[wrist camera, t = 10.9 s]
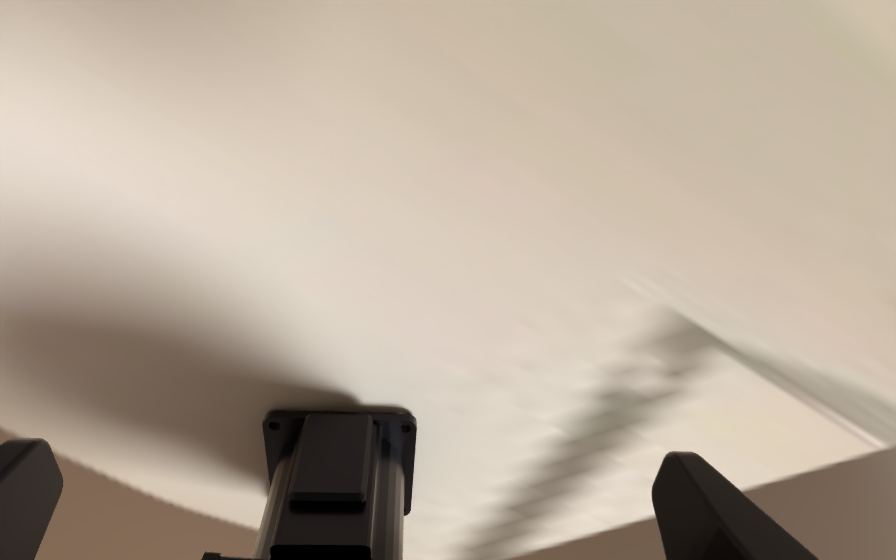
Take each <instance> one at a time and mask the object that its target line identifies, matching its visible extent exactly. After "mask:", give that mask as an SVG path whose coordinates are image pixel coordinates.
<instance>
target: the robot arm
mask: <svg viewBox="0 0 896 560" xmlns="http://www.w3.org/2000/svg"><path fill="white" fill-rule="evenodd" d="M274 422H278V423H274ZM402 425H408V426H402ZM416 431H417V422H416V419H415V417H414V416H412V415H410V414H398V413H358V412H318V411H278V410H275V411H270V412H268V413H267V414H266V415H265V418H264V421H263V433H264V440H265V448H266V456H267V464H268V472H269V479H270V487H271V488H270V492H269V496H268V499H267V503H266V507H265V510H264V514H263V518H262V522H261V525H260V529H259V533H258V537H257V540H256V544H255V548H254V551H253V556H252V558H242V557H229V556H222V554H221V553H217V552H205V553H204V555H203V557H202V560H403V523H404V516H405V515H408V514H409V513H410V511H411V499H412V485H413V472H414V458H415V445H416ZM62 487H63V477H62V474H61V472H60V469H59V467H58V464H57V462H56V460H55V457H54V455H53V452H52V450H51V447H50V445H49V443H48V442H47V441H45V440H44V439H41V438H13V439H10V440H7V441H6V442H3V443H2V444H0V560H34V558H35V556H36V554H37V551H38V549H39V546H40V544H41V541H42V539H43V536H44V534H45V531H46V529H47V527H48V524H49V522H50V520H51V517H52V515H53V512H54V510H55V507H56V505H57V503H58V500H59V498H60V495H61V492H62ZM652 502H653V506H654V511H655V515H656V519H657V523H658V527H659V531H660V535H661V540H662V544H663V548H664V552H665V556H666V560H820V559H819V558H818V557H817V556H815V555H814V554H813V553H812V552H811V551H810V550H809V549H807V548H806V547H805V546H804V545H803V544H802V543H800V542H799V541H798V540H797V539H796V538H795V537H793V536H792V535H791V534H790V533H789V532H788V531H786V530H785V529H784V528H783V527H782V526H781V525H780V524H778V523H777V522H776V521H775V520H774V519H773V518H771V517H770V516H769V515H768V514H767V513H765V511H763V510H762V509H761V508H760V507H759V506H757V505H756V504H755V503H754V502H753V501H752V500H750V499H749V498H748V497H747V496H746V495H745V494H744V493H743V492H741V491H740V490H739V489H738V488H737V487H736V486H734V485H733V484H732V483H731V482H730V481H729V480H727V479H726V478H725V477H724V476H723V475H722V474H720V473H719V472H718V471H717V470H716V469H715V468H714V467H712V466H711V465H710V464H709V463H708V462H707V461H705V460H704V459H703V458H702V457H701V456H699V455H698V454H696V453H694V452H677V451H672V452H669V453H668V454H666V455H665V457H664V459H663V462H662V464H661V466H660V469H659V471H658V474H657V476H656V478H655V481H654V483H653V486H652Z"/></svg>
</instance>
